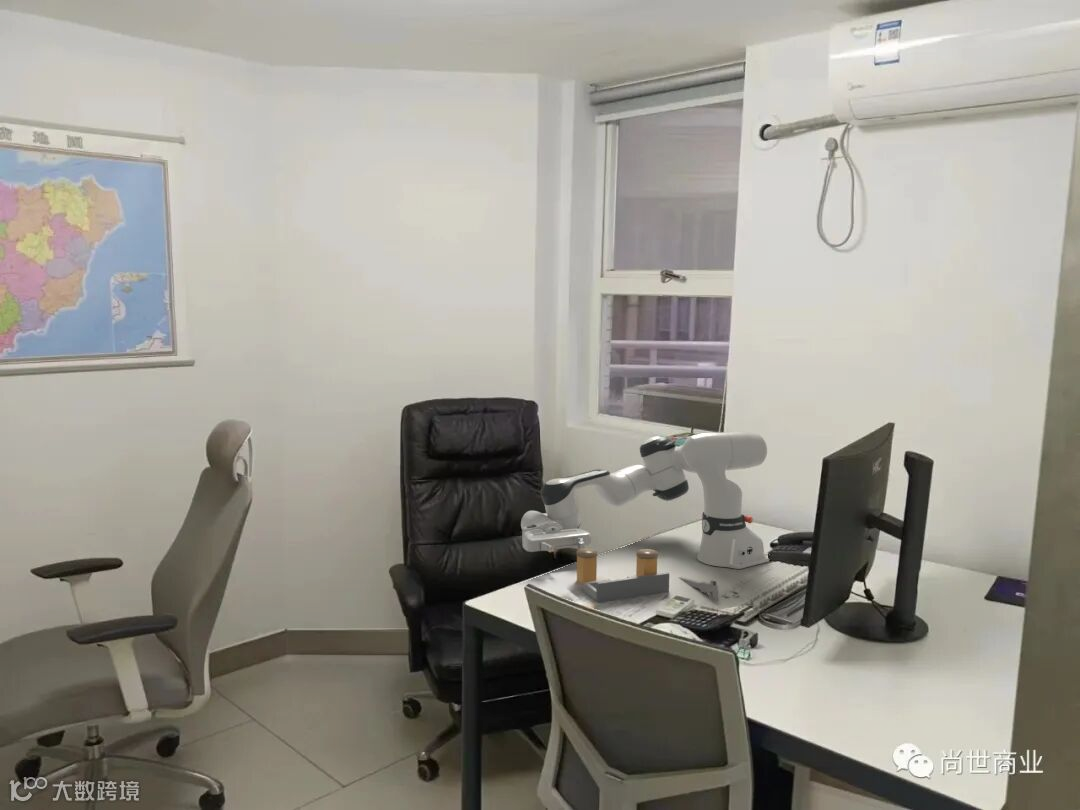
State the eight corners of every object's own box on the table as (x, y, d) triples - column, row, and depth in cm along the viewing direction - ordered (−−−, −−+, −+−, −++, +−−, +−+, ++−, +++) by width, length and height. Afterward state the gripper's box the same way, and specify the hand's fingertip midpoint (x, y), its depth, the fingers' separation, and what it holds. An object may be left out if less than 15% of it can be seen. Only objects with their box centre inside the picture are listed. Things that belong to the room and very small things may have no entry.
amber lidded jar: (591, 581, 225) (591, 547, 223) (600, 587, 219) (600, 553, 218) (572, 583, 222) (573, 549, 221) (581, 590, 217) (582, 555, 216)
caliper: (718, 606, 208) (719, 582, 207) (714, 606, 207) (715, 583, 206) (678, 580, 227) (679, 558, 226) (674, 580, 226) (675, 558, 225)
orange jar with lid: (650, 582, 220) (650, 547, 219) (660, 589, 215) (661, 554, 214) (632, 585, 218) (632, 550, 217) (642, 592, 213) (643, 556, 212)
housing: (649, 583, 223) (650, 562, 222) (668, 595, 214) (669, 573, 213) (581, 593, 215) (581, 571, 214) (597, 607, 206) (598, 583, 205)
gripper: (579, 541, 248) (599, 554, 236) (517, 548, 241) (534, 562, 228) (580, 521, 247) (600, 533, 235) (517, 527, 240) (534, 540, 227)
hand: (567, 547), depth 231 cm, fingers open, 8 cm apart
